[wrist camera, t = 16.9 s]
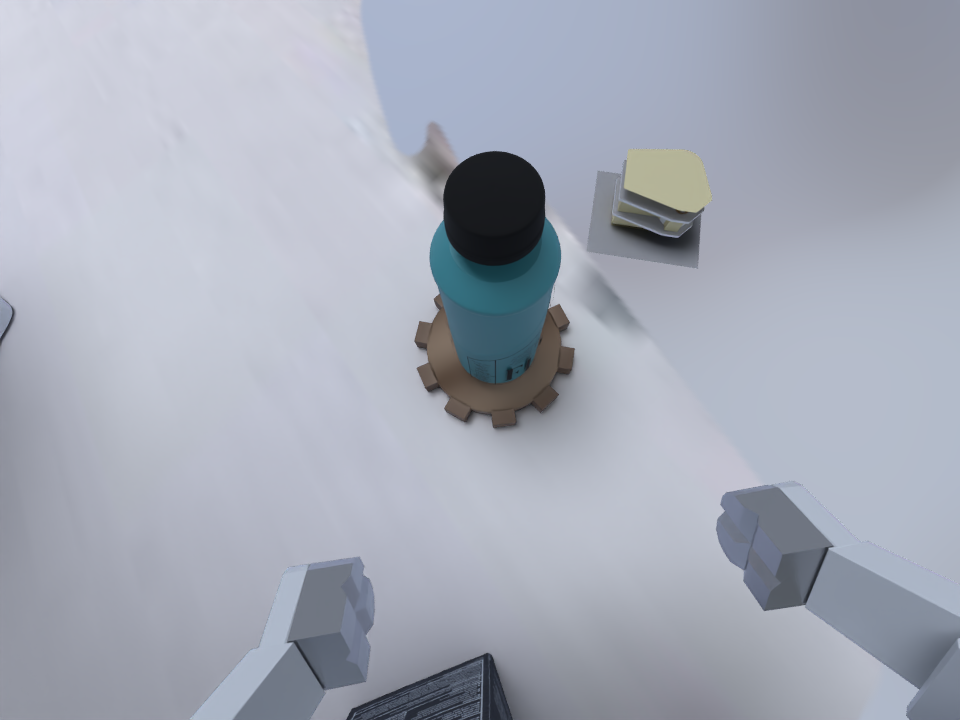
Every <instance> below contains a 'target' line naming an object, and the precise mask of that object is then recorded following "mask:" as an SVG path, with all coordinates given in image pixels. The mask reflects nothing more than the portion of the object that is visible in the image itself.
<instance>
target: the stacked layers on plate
mask: <svg viewBox="0 0 960 720" xmlns="http://www.w3.org/2000/svg"><path fill="white" fill-rule="evenodd" d="M710 201H712V195H711V191H710V188H709V184H708V180H707V176H706V173H705V169H704V166H703V162H702V160H701V159H700V158H699V157H698V156H697V155H696V154H695V153H693V152H691V151H688V150H668V149H666V150H664V149H629V150H628V156H627V160H625V161H624V162H623V166H622V174H618V173H611V172H604V171H598V172H597V179H596V186H595V193H594V200H593V208H592V214H591V222H590V228H589V236H588V243H587V250H586V252H593V253H599V254H605V255H612V256H618V257H626V258H631V259H638V260H645V261H651V262H658V263H664V264H671V265H677V266H684V267H690V268H697V269H698V260H699V244H700V228H701V213H702V212H703V211H704V206H706V205H707V204H708V203H709V202H710Z"/></svg>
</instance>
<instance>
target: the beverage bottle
mask: <svg viewBox="0 0 960 720" xmlns="http://www.w3.org/2000/svg"><path fill="white" fill-rule="evenodd" d="M443 200H444V220H443V221H442V223H441V224H440V226H439V227H438V229H437V230H436V232H435V234H434V237H433V240H432V243H431V247H430V266H431V270H432V274H433V277H434V279H435V282H436V284H437V286H438V289H439V292H440V296H441V299H442V302H443V306H444V309H445V312H446V315H447V317H446V320H447V319H448V327H447V328H448V329H449V328H450V331H451V335H452V339H453V342H454V345H455V349H456V352H457V355H458V358H459V361H460V362H461V364H462V366H463V367H464V369H465V370H466V371H467V372H468V373H469V374H471V375H472V376H473V377H475V378H477V379H478V380H480V381H484V382H487V383H495V384H493V385H501V384H496V383H506V382H509V381H512V380H515V379H517V378H518V377H519V376H520V378H521V376H522V374H523V373H524V372H525V371H526V370H527V369H528V368H529V366H530V365H533V364H534V363H533V364H531V363H532V361H533V359H534V356H535V353H536V349H537V346H539V345H540V344H541V340H542V338H541V337H540V335H541V332H542V328H543V327H544V321H545V318H546V314H547V310H548V307H549V303H550V299H551V292H552V289H553V285H554V283H555V280H556V278H557V276H558V272H559V268H560V263H561V248H560V243H559V240H558V236H557V234H556V232H555V230H554V228H553V226H552V225H551V223H550V222H549V221H548V220H547V218H546V217H545V189H544V185H543V182H542V179H541V177H540V175H539V174H538V172H537V171H536V170H535V168H534V167H533V166H532V165H531V164H530V163H528V162H527V161H526V160H524V159H523V158H520V157H518V156H516V155H513V154H510V153H507V152H499V151H492V152H484V153H480V154H476V155H474V156H472V157H470V158H468V159H466V160H465V161H463V162H462V163H460V164H459V165H458V166H457V167H456V168H455V169H454V170H453V171H452V173H451V174H450V176H449V178H448V180H447V182H446V185H445V189H444V197H443ZM554 290H555V287H554ZM553 298H554V297H553ZM445 312H444V313H445ZM547 318H548V317H547ZM546 320H547V319H546ZM545 322H546V321H545ZM446 325H447V323H446ZM449 334H450V333H449ZM543 334H544V333H543ZM541 336H542V337H543V335H541ZM450 337H451V336H450ZM540 338H541V339H540ZM539 339H540V344H539ZM450 340H451V339H450ZM451 341H452V340H451ZM453 342H451V343H453ZM538 350H539V349H538ZM454 353H455V352H454ZM536 357H537V356H536ZM534 360H535V359H534ZM533 362H534V361H533ZM529 370H530V369H529ZM525 373H526V372H525ZM524 375H525V374H524ZM472 376H471V377H472ZM473 377H472V378H473ZM475 380H476V379H475ZM517 380H518V379H517ZM487 383H486V384H487ZM506 384H507V383H506Z"/></svg>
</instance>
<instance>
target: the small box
mask: <svg viewBox="0 0 960 720" xmlns="http://www.w3.org/2000/svg"><path fill="white" fill-rule="evenodd" d="M346 720H513V719H512V717H511V713H510V710H509V707H508V704H507V701H506V698H505V695H504V692H503V688H502V686H501V682H500V679H499V676H498V673H497V670H496V667H495V664H494V661H493V658H492V655H491V654H489V653H486V654H484V655H482V656H480V657H477V658H474V659H472V660H469V661H467V662H465V663H462V664H460V665H457V666H455V667H452V668H450V669H447V670H444V671H442V672H440V673H438V674H435V675H433V676H430V677H428V678H426V679H423V680H421V681H418V682H416V683H414V684H411V685H408V686H405V687H403V688H401V689H398V690H396V691H394V692H391V693H389V694H386V695H384V696H382V697H379V698H377V699H375V700H372V701H370V702H368V703H366V704H363V705H361V706H359V707H356V708H353V709H352V710H351V712H350V713H349V715H348V717H347V719H346Z"/></svg>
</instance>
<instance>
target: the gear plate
mask: <svg viewBox="0 0 960 720" xmlns="http://www.w3.org/2000/svg"><path fill="white" fill-rule="evenodd" d="M434 302H435V305H436V306H437V308H438V309H439V310H440V311H439V312H438V313H437V315H436V317H435V318H434V320H433V323H427V322H421V321H419V325H418V329H417V333H416V337H415V343H416V345H417V347H421V348H427V355H428V361H429V363H427V364H424V365H422V366H420V367H418V368H417V370H418V372H419V375H420V377H421V379H422V382H423V384H424V386H425V388H426V390H427V391H430V390H432V389H435V388H437V387H439V386H440V387H441V389H442V390H443V391H444V392H445V393H446V394H447V395H448V396H449V397H450V399H449V401H448V403H447V405H446V406H445V408H444V409H445V411H446V412H448V413H450V414H451V415H453V416H455V417H457V418H459V419H460V420H462V421H464V422H466V420H467V418H468V416H469V415H470V413H471V411H474V412H478V413H482V414H491V415H492V423H493V428H494V427H503V426H511V425H515V424H516V419H515V412H514V411H517V410H520V409H522V408H524V407H526V406H528V405H529V404H532V405H533V406H534V407H535V408H536V409H537V410H538V411H539V412H540V413H541V412H542V411H543V410H544V409H545V408H546V407H547V406H548V405H549V404H550V403H551V402H553V401H554V400H555V399H556V398H557V396H558V395H559V394H558V393H557V392H556V391H555V390H554V389H553V388H552V387H551V386H550V383H551V381H552V380H553V378H554V376H555V374H556V372H559V373H565V374H569V373H570V371H571V370H572V364H573V357H574V350H575V348H569V347H563V346H561V337H560V333H559V332H560V331H562V330H564V329H567V327H568V325H569V323H570V322H569V320H568V318H567V317H566V315H565V313H564V311H563V309H562V308H561V306H560V304H558V305H556V306H554V307H552V308H549V309H548V310H547V314H546V318H545V321H546V322H545V321H544V327H543V328H542V332H541V335H543V337H542V336H541V335H540V337H541V338H542V340H541V344H540V339H541V338H540V339H539V344H540V345H539V346H537V349H536V353H535V356H534V359H535V360H534V359H533V361H534V362H533V361H532V363H531V364H533V363H534V364H533V365H530V366H529V368H528V369H527V370H526V371H525V372H526V373H525V372H524V373H523V374H522V376H521V378H520V376H519V377H518V378H517V379H518V380H517V379H515V380H512V381H509V382H506V383H507V384H506V383H496V384H501V385H493V384H495V383H487V382H484V381H480V380H478V379H477V378H475V377H473V376H472V375H471V374H469V373H468V372H467V371H466V370H465V369H464V367H463V366H462V364H461V362H460V361H459V358H458V355H457V352H456V349H455V345H454V342H453V339H452V335H451V331H450V328H449V329H448V328H447V327H448V319H447V320H446V317H447V315H446V312H445V309H444V306H443V302H442V299H441V296H440V294H439V295H438V296H436V297H435V298H434ZM444 312H445V313H444ZM547 317H548V318H547ZM546 319H547V320H546ZM446 323H447V325H446ZM449 333H450V334H449ZM543 333H544V334H543ZM450 336H451V337H450ZM450 339H451V340H452V341H451V340H450ZM451 342H453V343H451ZM538 349H539V350H538ZM454 352H455V353H454ZM536 356H537V357H536ZM529 369H530V370H529ZM524 374H525V375H524ZM471 376H472V377H473V378H472V377H471ZM475 379H476V380H475ZM486 383H487V384H486Z"/></svg>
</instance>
